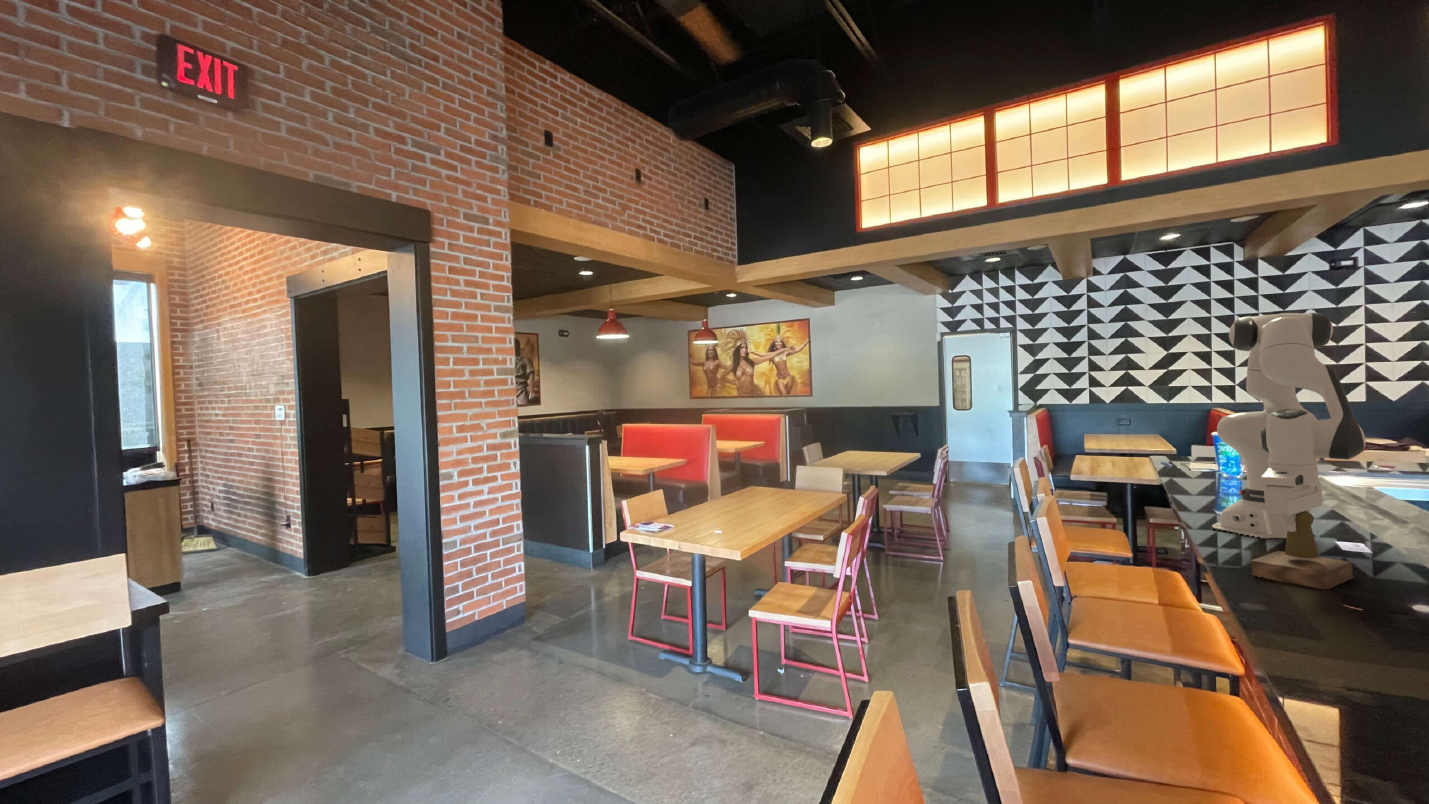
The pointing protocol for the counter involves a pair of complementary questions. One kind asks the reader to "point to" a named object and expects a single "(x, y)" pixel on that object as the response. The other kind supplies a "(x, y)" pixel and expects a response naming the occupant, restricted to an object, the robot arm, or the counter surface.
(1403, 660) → the counter surface
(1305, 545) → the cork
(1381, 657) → the counter surface
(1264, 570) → the walnut riser block
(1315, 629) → the counter surface
